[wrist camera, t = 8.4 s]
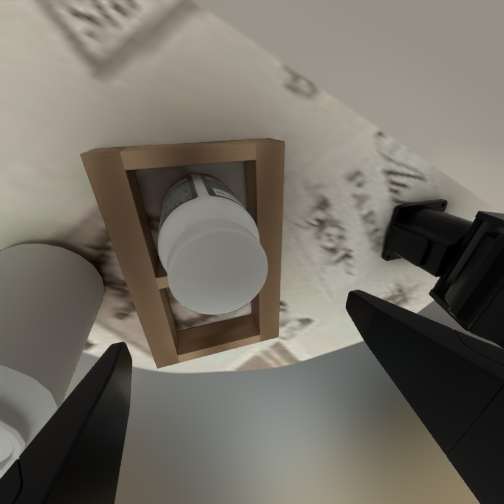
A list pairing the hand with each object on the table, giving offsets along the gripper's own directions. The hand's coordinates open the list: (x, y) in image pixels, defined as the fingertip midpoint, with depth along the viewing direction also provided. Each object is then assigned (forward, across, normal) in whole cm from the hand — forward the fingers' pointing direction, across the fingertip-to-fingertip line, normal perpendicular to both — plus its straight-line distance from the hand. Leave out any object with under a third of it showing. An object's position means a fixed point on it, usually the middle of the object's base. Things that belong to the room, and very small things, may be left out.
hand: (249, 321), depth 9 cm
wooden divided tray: (+12, +1, +4) cm, 13 cm away
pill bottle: (+12, +1, -1) cm, 13 cm away
